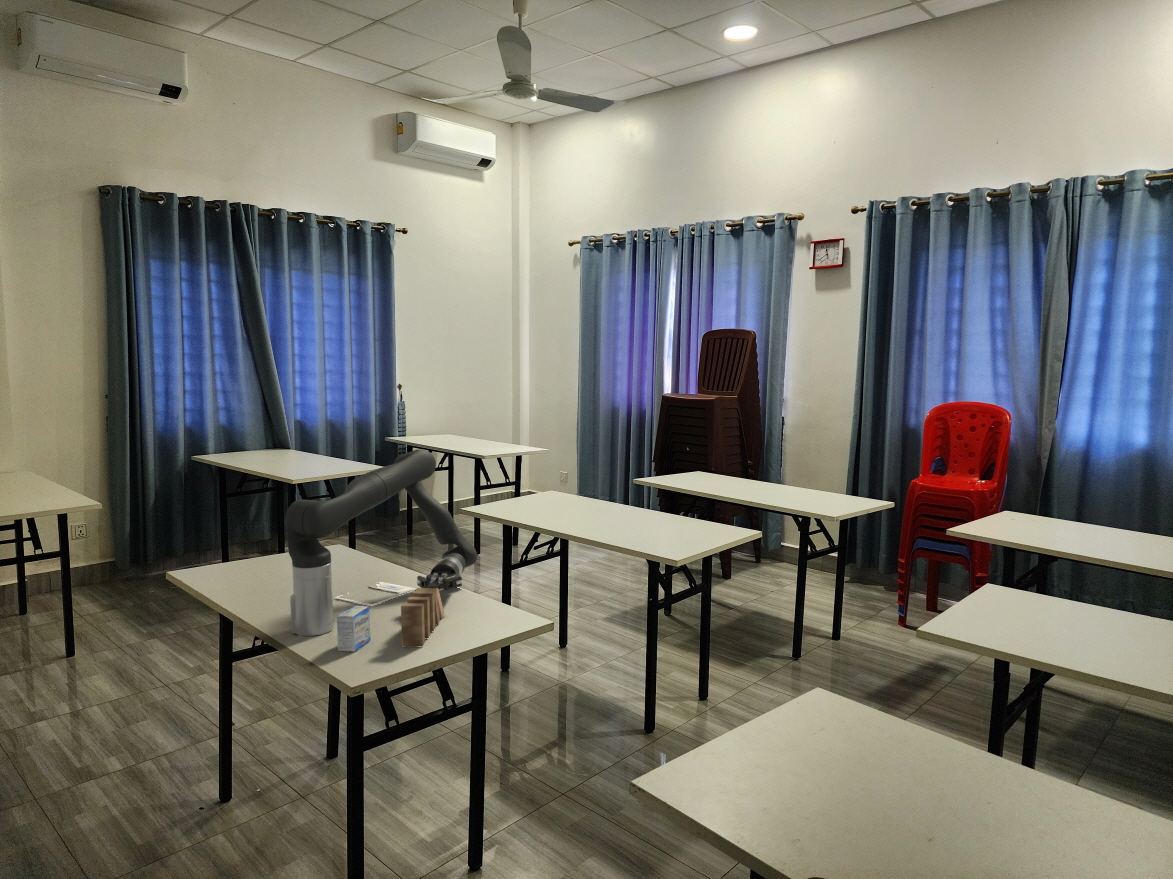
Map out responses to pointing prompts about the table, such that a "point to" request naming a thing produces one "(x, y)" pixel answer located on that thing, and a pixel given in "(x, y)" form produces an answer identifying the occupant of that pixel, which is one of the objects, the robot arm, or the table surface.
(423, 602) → the tile
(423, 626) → the tile
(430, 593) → the tile
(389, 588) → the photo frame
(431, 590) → the tile
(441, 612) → the tile
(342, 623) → the medicine box
